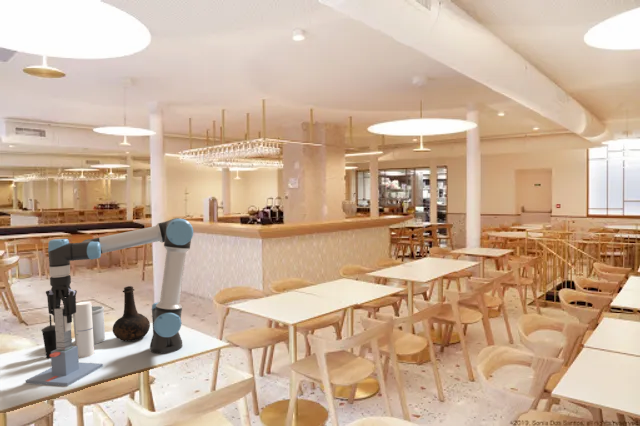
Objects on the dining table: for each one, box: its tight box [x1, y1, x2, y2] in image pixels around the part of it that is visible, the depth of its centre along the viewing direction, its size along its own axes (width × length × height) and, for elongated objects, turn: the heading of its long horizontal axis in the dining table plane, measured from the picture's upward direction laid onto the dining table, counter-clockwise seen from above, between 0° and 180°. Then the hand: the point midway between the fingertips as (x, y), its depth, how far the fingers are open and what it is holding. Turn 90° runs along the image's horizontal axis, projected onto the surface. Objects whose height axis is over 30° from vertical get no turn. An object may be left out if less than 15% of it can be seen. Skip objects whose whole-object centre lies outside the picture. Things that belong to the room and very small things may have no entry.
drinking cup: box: [40, 314, 57, 359], centre depth 205 cm, size 8×8×20 cm
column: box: [54, 305, 73, 351], centre depth 183 cm, size 4×4×22 cm
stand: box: [25, 345, 104, 387], centre depth 183 cm, size 20×20×11 cm
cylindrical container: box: [75, 300, 95, 358], centre depth 206 cm, size 7×7×25 cm
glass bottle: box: [112, 285, 151, 342], centre depth 228 cm, size 18×18×28 cm
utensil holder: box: [72, 305, 106, 346], centre depth 225 cm, size 15×15×18 cm
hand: (63, 330), depth 183 cm, fingers closed on column, 4 cm apart
